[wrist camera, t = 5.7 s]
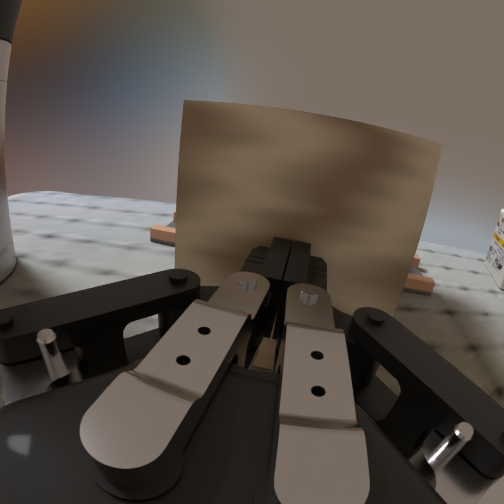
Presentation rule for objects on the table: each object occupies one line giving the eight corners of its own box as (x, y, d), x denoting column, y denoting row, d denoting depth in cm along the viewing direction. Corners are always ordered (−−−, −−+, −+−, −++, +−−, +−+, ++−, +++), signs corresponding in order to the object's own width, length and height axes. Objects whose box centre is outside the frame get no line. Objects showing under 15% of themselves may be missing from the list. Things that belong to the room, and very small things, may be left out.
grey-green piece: (150, 240, 28) (150, 197, 26) (181, 217, 34) (183, 181, 32) (430, 295, 24) (445, 253, 23) (412, 261, 31) (422, 226, 29)
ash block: (175, 345, 16) (183, 100, 11) (239, 247, 29) (255, 110, 24) (362, 385, 15) (442, 144, 10) (349, 268, 27) (379, 132, 23)
